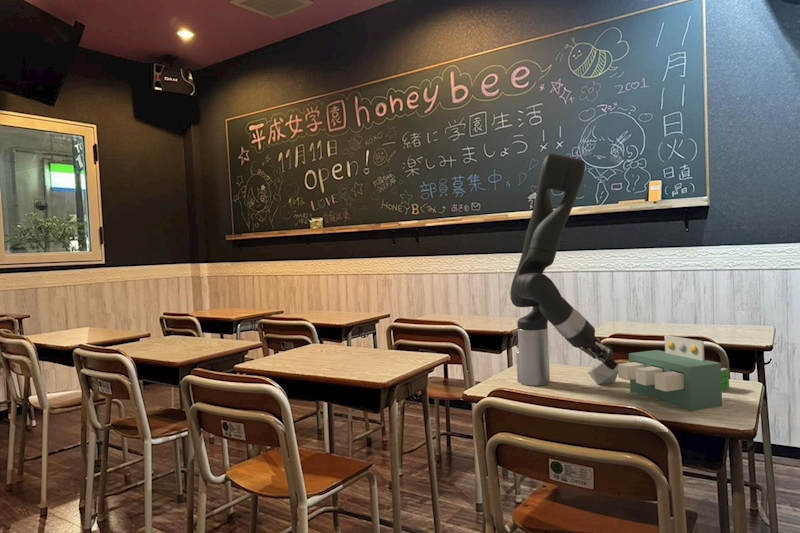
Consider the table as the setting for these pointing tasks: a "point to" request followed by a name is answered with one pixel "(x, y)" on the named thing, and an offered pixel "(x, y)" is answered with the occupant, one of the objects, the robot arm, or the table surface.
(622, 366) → the button left
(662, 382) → the button right
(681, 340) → the console
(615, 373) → the die
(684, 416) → the table surface
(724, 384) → the puzzle toy
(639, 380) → the button mid
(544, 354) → the robot arm
